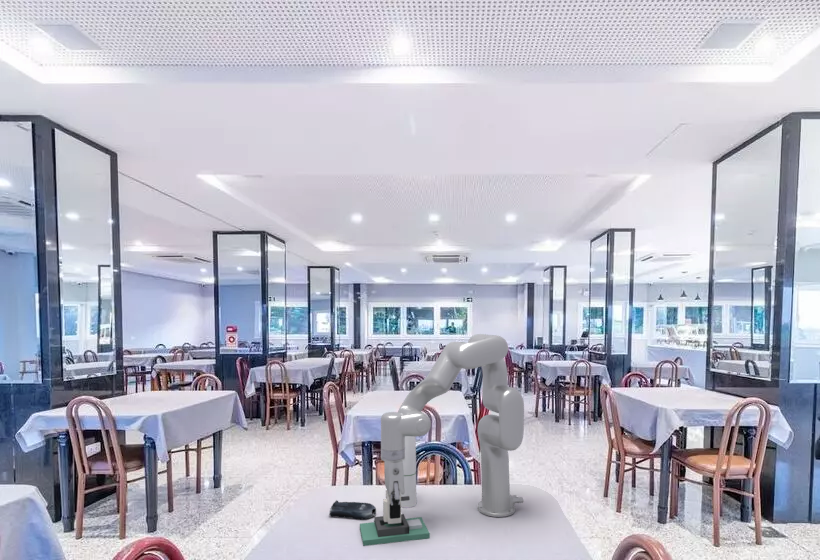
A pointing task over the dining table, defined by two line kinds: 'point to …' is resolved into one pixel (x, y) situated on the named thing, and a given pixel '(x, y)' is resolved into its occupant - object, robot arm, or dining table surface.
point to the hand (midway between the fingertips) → (393, 513)
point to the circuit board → (393, 531)
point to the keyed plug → (387, 508)
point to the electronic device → (352, 510)
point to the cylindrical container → (409, 472)
